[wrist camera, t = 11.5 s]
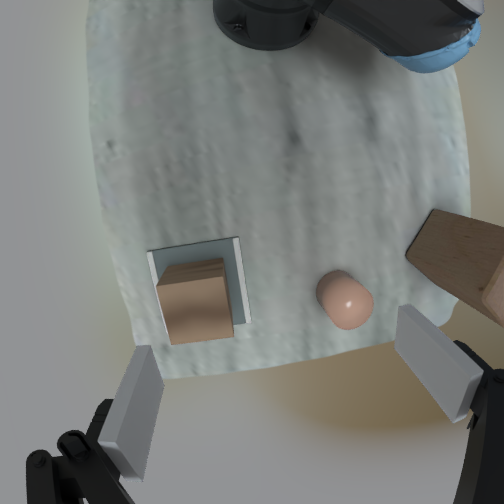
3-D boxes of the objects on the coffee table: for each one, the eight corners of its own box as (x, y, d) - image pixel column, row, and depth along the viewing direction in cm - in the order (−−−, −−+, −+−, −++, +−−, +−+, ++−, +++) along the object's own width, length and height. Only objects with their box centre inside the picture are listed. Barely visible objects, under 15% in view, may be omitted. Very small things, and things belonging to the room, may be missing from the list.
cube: (167, 266, 43) (155, 286, 35) (223, 257, 43) (222, 276, 35) (179, 317, 45) (171, 344, 37) (232, 309, 45) (234, 336, 37)
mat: (147, 251, 43) (146, 252, 42) (238, 236, 43) (238, 237, 42) (167, 331, 46) (167, 334, 45) (251, 320, 46) (251, 323, 46)
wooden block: (401, 255, 46) (484, 302, 27) (432, 206, 45) (522, 229, 25) (434, 284, 48) (509, 333, 29) (462, 238, 47) (543, 271, 27)
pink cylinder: (314, 274, 46) (329, 291, 39) (354, 267, 46) (373, 282, 39) (317, 312, 47) (331, 334, 40) (355, 304, 48) (373, 324, 41)
